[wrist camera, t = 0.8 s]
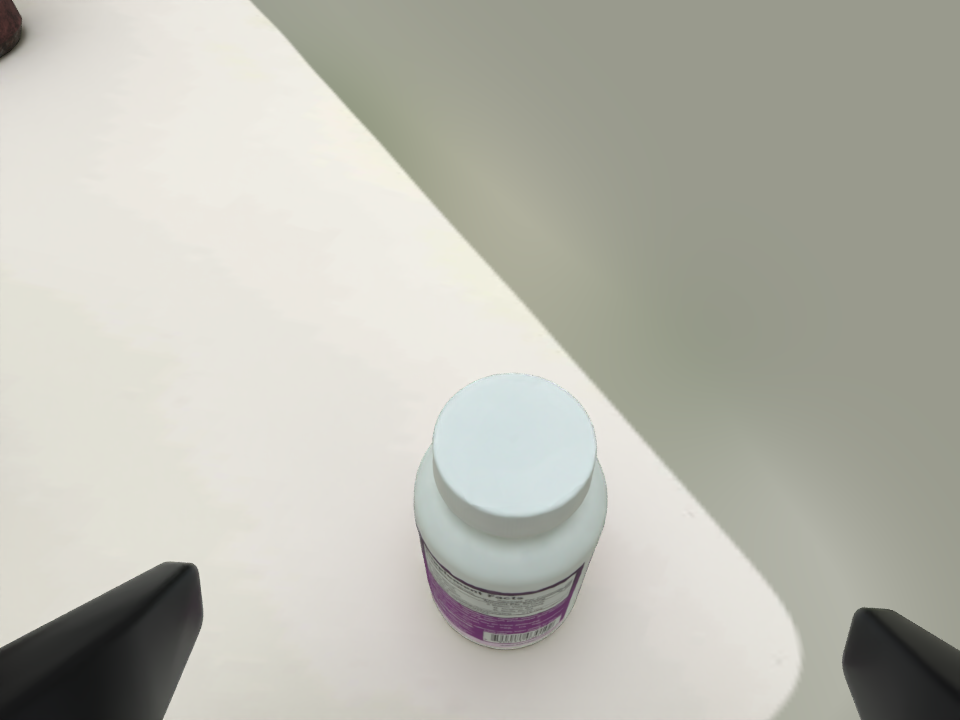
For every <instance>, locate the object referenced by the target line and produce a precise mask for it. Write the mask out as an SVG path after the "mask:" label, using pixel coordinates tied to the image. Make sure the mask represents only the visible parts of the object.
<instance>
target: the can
mask: <svg viewBox="0 0 960 720" xmlns="http://www.w3.org/2000/svg"><path fill="white" fill-rule="evenodd" d="M21 24H22V17H21V16H20V14H19V12H18V10H17V8H16V6H15V5H14V3H13V1H12V0H0V57H1V56H3V55H4V54H6V53H7V52H9V51H10V50H11V49H12V48H13V47H14V46H15V45H16V44H17V43H18V41H19V38H20V34H21Z"/></svg>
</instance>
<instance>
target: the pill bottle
mask: <svg viewBox="0 0 960 720" xmlns="http://www.w3.org/2000/svg"><path fill="white" fill-rule="evenodd" d="M414 513H415V521H416V526H417V528H418V532H419V536H420V543H421V548H422V553H423V558H424V563H425V567H426V573H427V579H428V582H429V585H430V589H431V593H432V596H433V599H434V601H435V603H436V605H437V607H438V609H439V611H440V612H441V614H442V616H443V617H444V619H445V620H446V621H447V622H448V623H449V625H450V626H451V627H452V628H453V629H454V630H456V631H457V632H458V633H460V634H461V635H462V636H464V637H465V638H467V639H469V640H471V641H473V642H475V643H477V644H480V645H483V646H486V647H491V648H495V649H516V648H521V647H525V646H529V645H532V644H534V643H536V642H538V641H540V640H542V639H544V638H546V637H547V636H549V635H550V634H551V633H552V632H554V631H555V630H556V629H557V628H558V627H559V626H560V625H561V624H562V623H563V622H564V621H565V619H566V618H567V616H568V615H569V613H570V611H571V610H572V608H573V606H574V603H575V601H576V598H577V595H578V593H579V590H580V588H581V585H582V582H583V579H584V577H585V574H586V571H587V568H588V565H589V563H590V561H591V558H592V556H593V553H594V550H595V547H596V545H597V543H598V540H599V537H600V535H601V532H602V530H603V527H604V524H605V518H606V513H607V487H606V481H605V477H604V473H603V471H602V468H601V465H600V463H599V461H598V459H597V443H596V436H595V431H594V427H593V424H592V422H591V420H590V418H589V416H588V414H587V412H586V411H585V409H584V408H583V407H582V405H581V404H580V403H579V402H578V401H577V400H576V399H575V398H574V397H573V396H572V395H571V394H570V393H569V392H567V391H566V390H565V389H563V388H561V387H560V386H558V385H557V384H555V383H553V382H551V381H549V380H546V379H544V378H541V377H537V376H533V375H528V374H520V373H506V374H496V375H492V376H488V377H485V378H482V379H479V380H477V381H474V382H472V383H471V384H469V385H467V386H466V387H464V388H463V389H461V390H460V391H459V392H457V393H456V394H455V395H454V396H453V397H452V398H451V399H450V400H449V401H448V402H447V404H446V405H445V407H444V408H443V409H442V411H441V413H440V415H439V417H438V419H437V422H436V424H435V428H434V433H433V442H432V444H431V445H430V447H429V448H428V450H427V451H426V453H425V455H424V457H423V459H422V461H421V463H420V466H419V469H418V472H417V475H416V480H415V487H414Z"/></svg>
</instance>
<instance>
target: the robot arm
mask: <svg viewBox="0 0 960 720" xmlns="http://www.w3.org/2000/svg"><path fill="white" fill-rule="evenodd" d="M202 621H203V604H202V596H201V587H200V578H199V572H198V569H197V567H196V566H195V565H194V564H193V563H184V562H164V563H162V564H160V565H158V566H156V567H154V568H152V569H150V570H148V571H146V572H144V573H142V574H141V575H139V576H137V577H135V578H133V579H131V580H129V581H127V582H125V583H123V584H122V585H120V586H118V587H116V588H114V589H112V590H110V591H108V592H106V593H104V594H102V595H101V596H99V597H97V598H95V599H93V600H91V601H89V602H87V603H85V604H83V605H81V606H80V607H78V608H76V609H74V610H72V611H70V612H68V613H66V614H64V615H62V616H60V617H58V618H57V619H55V620H53V621H51V622H49V623H47V624H45V625H43V626H41V627H39V628H37V629H36V630H34V631H32V632H30V633H28V634H26V635H24V636H22V637H20V638H18V639H16V640H15V641H13V642H11V643H9V644H7V645H5V646H3V647H1V648H0V720H163V718H164V715H165V713H166V710H167V708H168V706H169V703H170V701H171V699H172V696H173V694H174V691H175V689H176V687H177V684H178V682H179V680H180V677H181V675H182V672H183V670H184V668H185V665H186V663H187V661H188V658H189V656H190V653H191V651H192V649H193V646H194V644H195V642H196V639H197V637H198V634H199V632H200V629H201V626H202ZM842 666H843V672H844V675H845V679H846V681H847V684H848V687H849V689H850V692H851V695H852V697H853V700H854V703H855V705H856V708H857V711H858V713H859V716H860V718H861V720H960V651H959V650H958V649H956V648H954V647H952V646H951V645H949V644H948V643H946V642H944V641H943V640H941V639H939V638H938V637H936V636H934V635H933V634H931V633H930V632H928V631H926V630H925V629H923V628H921V627H920V626H918V625H916V624H915V623H913V622H911V621H910V620H908V619H906V618H905V617H903V616H902V615H900V614H898V613H897V612H895V611H893V610H889V609H879V608H860V609H858V610H857V611H856V612H855V613H854V616H853V619H852V623H851V627H850V630H849V634H848V637H847V641H846V645H845V649H844V653H843V659H842Z"/></svg>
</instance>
